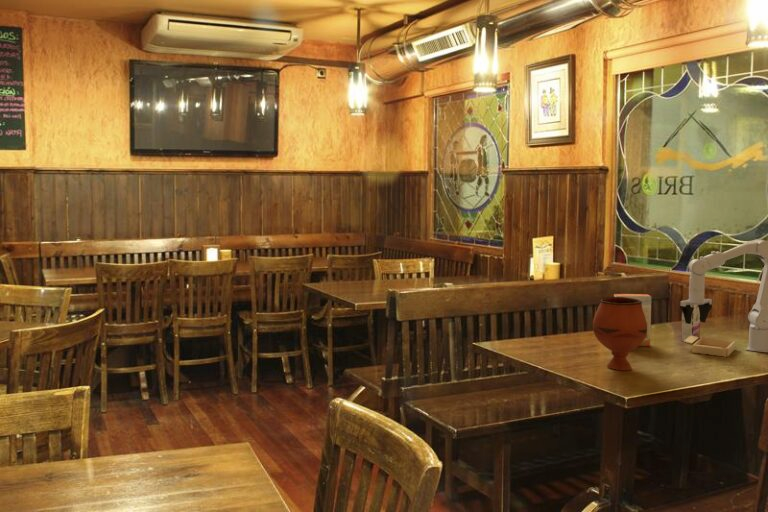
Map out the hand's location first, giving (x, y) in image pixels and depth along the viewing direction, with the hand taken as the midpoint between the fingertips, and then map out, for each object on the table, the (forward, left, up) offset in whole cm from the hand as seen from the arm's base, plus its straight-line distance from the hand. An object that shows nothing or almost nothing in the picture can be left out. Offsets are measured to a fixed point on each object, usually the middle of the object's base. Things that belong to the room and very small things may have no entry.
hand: (695, 322), depth 308 cm
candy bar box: (+5, -16, -11) cm, 20 cm away
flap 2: (-7, +11, -7) cm, 15 cm away
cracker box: (+23, +8, -11) cm, 27 cm away
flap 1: (+1, +1, -7) cm, 7 cm away
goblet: (+16, +48, -11) cm, 52 cm away
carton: (-7, +1, -10) cm, 13 cm away
